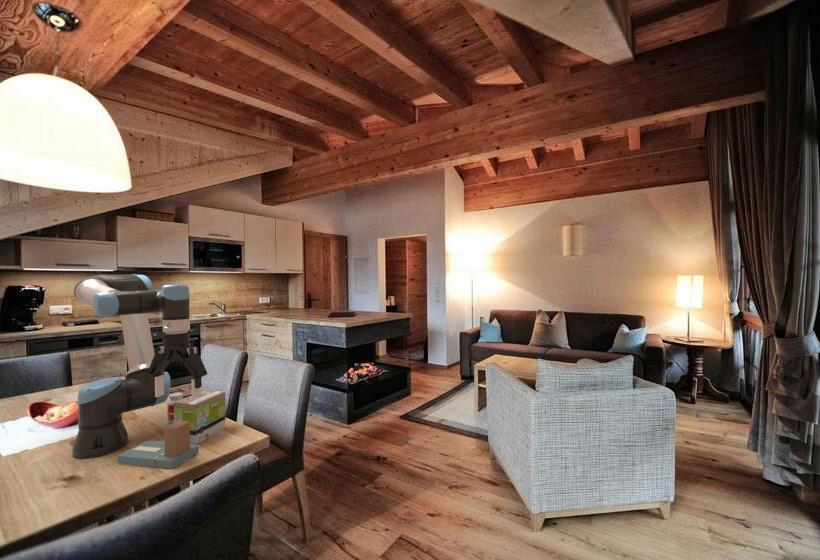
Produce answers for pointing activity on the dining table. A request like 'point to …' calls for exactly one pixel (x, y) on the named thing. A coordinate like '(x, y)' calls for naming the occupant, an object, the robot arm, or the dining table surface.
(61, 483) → the dining table surface
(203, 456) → the dining table surface
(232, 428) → the dining table surface
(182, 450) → the stub
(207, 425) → the tea box
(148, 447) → the ticket
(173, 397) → the pill bottle
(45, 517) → the dining table surface
